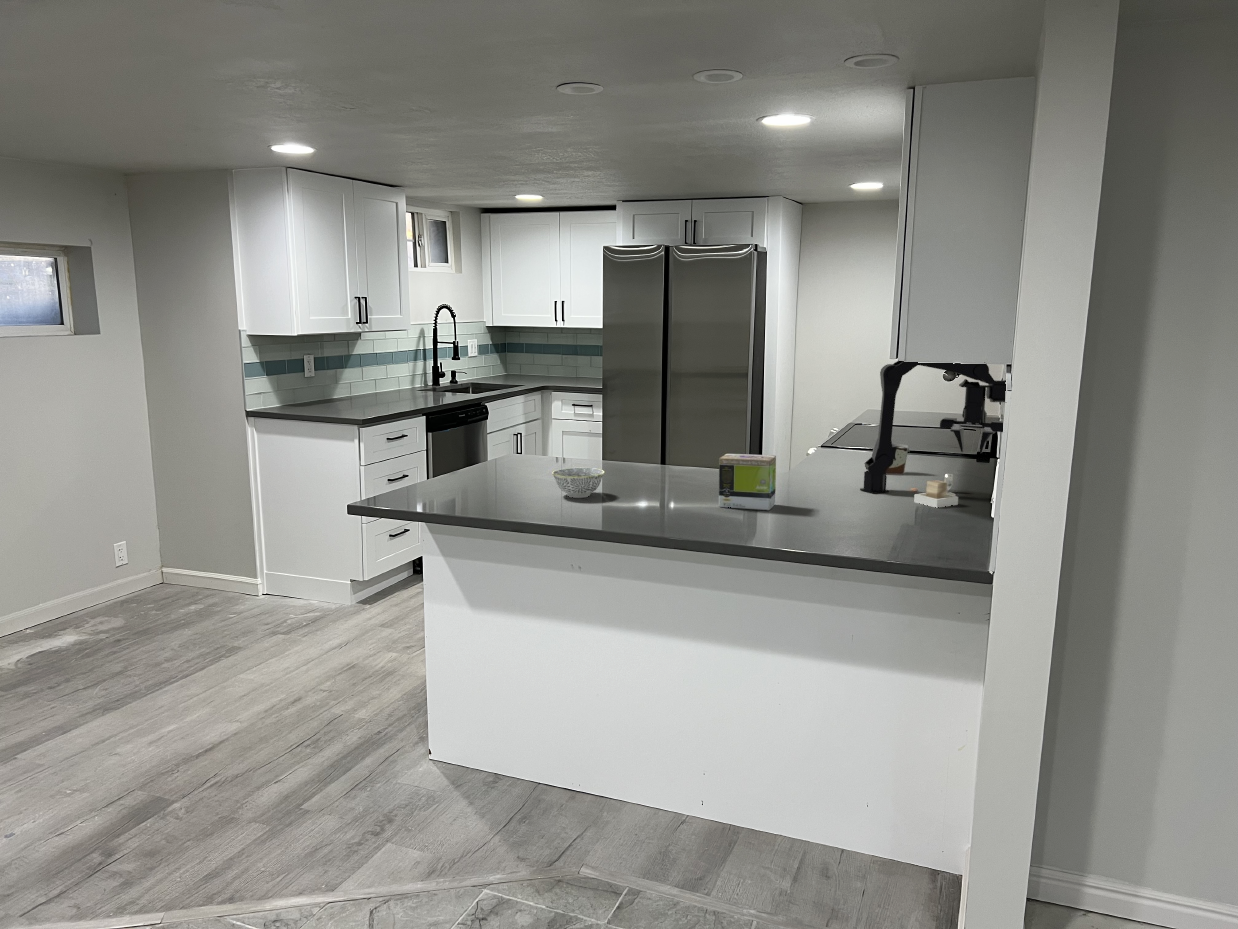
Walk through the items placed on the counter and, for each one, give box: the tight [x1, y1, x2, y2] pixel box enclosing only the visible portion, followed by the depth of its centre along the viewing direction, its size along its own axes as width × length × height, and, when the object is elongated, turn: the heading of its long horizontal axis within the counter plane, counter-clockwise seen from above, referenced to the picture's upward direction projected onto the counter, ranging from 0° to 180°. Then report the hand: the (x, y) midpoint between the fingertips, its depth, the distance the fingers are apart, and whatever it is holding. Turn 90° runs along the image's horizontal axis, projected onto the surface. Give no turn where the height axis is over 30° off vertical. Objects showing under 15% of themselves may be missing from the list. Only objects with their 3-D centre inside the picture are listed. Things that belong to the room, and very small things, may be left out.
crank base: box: [910, 487, 957, 496], centre depth 279 cm, size 8×16×1 cm, turn 29°
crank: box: [943, 473, 954, 492], centre depth 279 cm, size 12×3×4 cm, turn 149°
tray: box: [913, 492, 959, 509], centre depth 266 cm, size 9×9×2 cm
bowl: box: [551, 467, 605, 499], centre depth 276 cm, size 16×16×8 cm
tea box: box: [718, 453, 777, 511], centre depth 262 cm, size 15×10×15 cm, turn 70°
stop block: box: [925, 479, 948, 499], centre depth 265 cm, size 4×4×6 cm
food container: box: [872, 443, 910, 476], centre depth 315 cm, size 12×6×10 cm, turn 84°
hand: (971, 452), depth 278 cm, fingers open, 5 cm apart
